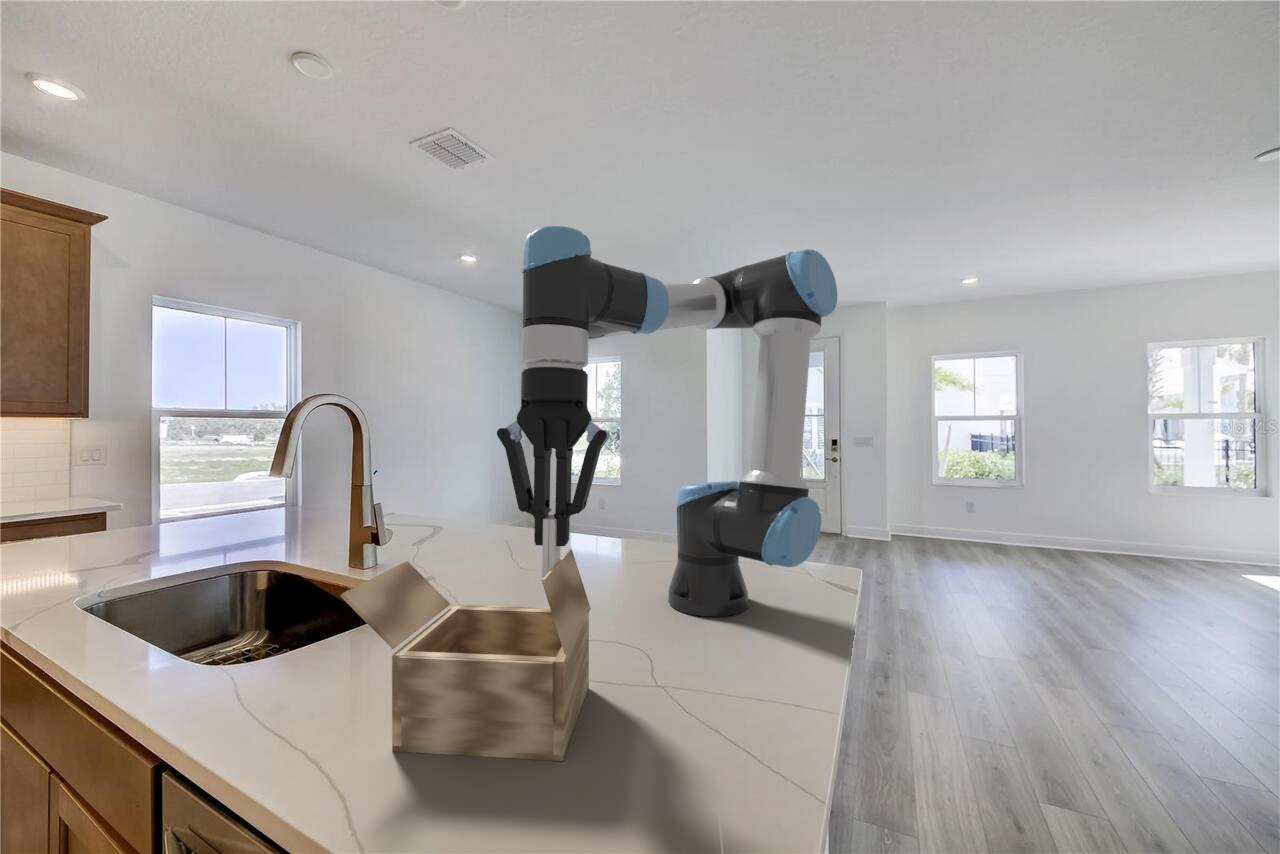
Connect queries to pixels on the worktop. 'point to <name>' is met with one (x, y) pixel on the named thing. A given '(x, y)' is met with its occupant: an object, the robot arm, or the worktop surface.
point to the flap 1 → (396, 603)
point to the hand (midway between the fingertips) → (551, 573)
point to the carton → (489, 685)
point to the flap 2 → (566, 599)
